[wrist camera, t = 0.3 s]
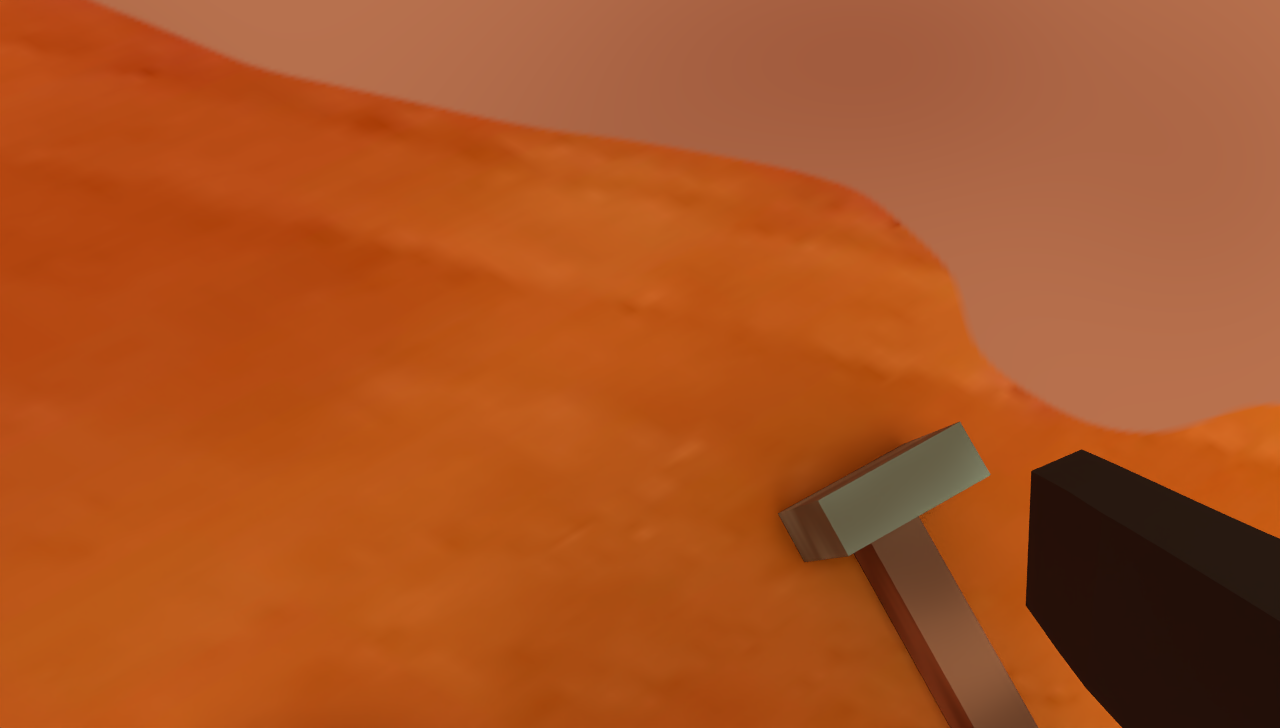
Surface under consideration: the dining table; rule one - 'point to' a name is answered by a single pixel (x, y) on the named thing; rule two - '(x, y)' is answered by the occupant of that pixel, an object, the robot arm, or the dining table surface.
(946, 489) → the rail
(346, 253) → the dining table surface
